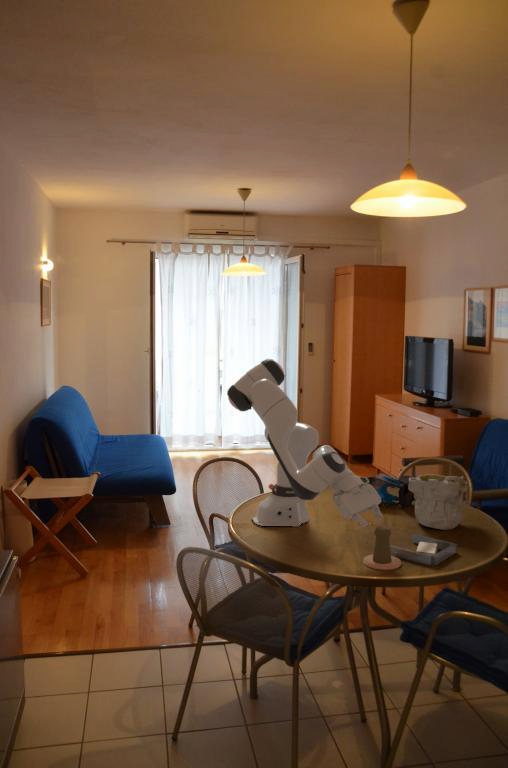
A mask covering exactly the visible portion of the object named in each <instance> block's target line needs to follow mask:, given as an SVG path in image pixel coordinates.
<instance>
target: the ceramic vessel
mask: <svg viewBox="0 0 508 768" xmlns="http://www.w3.org/2000/svg"><path fill="white" fill-rule="evenodd" d="M408 482H409V485H408V489H409V491H411V492H413V493H414V496H416V498H415V501H414V515H415V518H416V520H417V521H418V522H419V524H420V525H422V526H424V527H427V528H432V529H437V530H441V531H449V529H450V530H453V529H455V528H457V526H458V525H459V524H460V523H461V521H462V519H463V505H464V504H466V503H468V502H469V500H468V490H469V486H468V485H469V484H468V482H467V481H466V480H465V477H464V475H462V476H456V475H449V476H448V475H447V476H446V475H443V474H442V475H441V474H434V473H430V474H429V473H428V474H427V473H426V474H421V475H417V476H416V477H415V476H410V477H409V478H408Z"/></svg>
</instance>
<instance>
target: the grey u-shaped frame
mask: <svg viewBox="0 0 508 768" xmlns="http://www.w3.org/2000/svg"><path fill="white" fill-rule="evenodd" d="M411 537H412V539H411V543H412V544H416V545H419V542H427V543H435V544H437V550H440V551H439V552H437V554H435V555H434V556H430V555H426V554H422V553H418V552H416V551H414V550H410V549H406V548H403V547H400V546H399V547H398V546H395V545H390V551H391V556H394V557H397V558H398V559H403V560H407V561H411V562H415V563H419V564H423V565H426V566H428V567H429V566H430V567H433V568H435V567H436V566H438V565H439V564H441V563H442V562H443V561H446V560H447V559H448V557H449V558H450V557H452V556H454V555H455V554H457V553H456V552H457V550H458V543H454V542H450V541H447V540H446V541H445V540H441V539H437V538H433V537H430V536H425V535H420V534H416V533H413V534H412V536H411ZM453 554H454V555H453ZM445 559H446V560H445ZM440 562H441V563H440Z"/></svg>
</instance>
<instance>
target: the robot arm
mask: <svg viewBox="0 0 508 768" xmlns="http://www.w3.org/2000/svg"><path fill="white" fill-rule="evenodd" d="M285 377H286V376H285V372H284V369H283V367H282V366H281V365H280V363H279V362H277V361H275V360H274V359H272V358H266V359H264V360H262V361H260V363H259V364H257V365H255V366H253V367H252V368H251V369H249V370H248V371H246V373H245V374H244V375H242V376H241V377H239V379H237V381H236V382H235V383H234V384H232V385H231V386H230V387H228V389H227V391H226V392H227V393H226V395H227V398H228V401H229V403H230V405H231V406H232V407H234V409H236V410H238V411H239V412H246V411H250V410H252V409H253V410H254V412H255V413H256V414H257V416H258V417H259V418H260V420H261V421H262V422H263V424H264V426H265V428H264V437H265V440H266V441H267V442H268V443H269V446H270V447H271V450H272V452H273V453H274V455H275V458H276V459H277V461H278V463H277V465H276V483H275V484H273V483H269V484H268V488H269V490H271V494H269V495H268V496H267V497H266V498H264V499H263V500H262V501H261V502H259V503H258V506H257V511H256V514H257V516H256V517H254V518H253V520H254V522H256V523H257V524H259V525H262V526H293V527H300V526H299V525H301V524H302V523H303V524H305V523H304V522H306V523H307V522H309V520H310V517H309V514H308V510H307V509H308V508H307V503H306V502H307V501H312V500H314V499H315V498H316V497H317V496H318V495H320V493H321V492H322V491H323V490H324V489H326V488H327V487H328V486H329V485H330V486H331V489H332V490H333V495H332V499H333V501H334V504H335V507H336V508H337V510H338V512H339V513H340V515H341V517H342V518H344V520H349V519H351V518H352V519H353V520H354V521H355V522H357V523H358V524H359V525H360V526H361V527H362V528H365V527H366V526H368V525H369V522H368V521H367V520H366V518H363V517H362V516H361V514H362V513H364V512H367V511H369V510H371V511H372V512H373V513H374V518H375V519H376V521H379V520H381V519H383V517H384V516H383V515H382V513H381V511H380V507H379V505H378V504H380V503H381V497H380V496H379V494H378V493H377V491H376V490H375V489H374V487H373V486H372V485H370V484H368V483H369V480H368V479H367V478H368V477H366V476H359V475H356V474H355V473H354V472H353V471H352V470H351V469H349V467H348V465H347V463H346V461H345V460H344V458H342V456H341V455H340V454H339V453H338V452H337V451H336V450H335V449H334V448H333V446H331V445H329V444H325V445H322V446H320V447H318V445H319V442H320V434H319V432H318V430H317V429H316V428H314V426H311V425H309V424H308V423H304V422H298V415H299V414H298V408H296V406H295V404H294V403H293V401H292V400H291V399H290V397H289V396H288V395H287V394H286V393H285V391H284V390H282V388H280V387H279V386H280V385H282V383H283V382H284V381H285ZM317 447H318V448H317ZM316 448H317V449H316ZM313 451H314V452H313ZM312 452H313V453H312ZM311 453H312V459H311V460H310V461H309V462H307V461H308V459H309V456H310V454H311ZM303 524H302V525H303ZM302 525H301V526H302Z"/></svg>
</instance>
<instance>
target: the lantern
mask: <svg viewBox="0 0 508 768" xmlns="http://www.w3.org/2000/svg"><path fill="white" fill-rule="evenodd" d="M366 478H367V479H368V480H369V483H368V484H370V485H372V486H373V487H374V489H375V490H376V491H377V493H378V494H379V496H380V497H381V503H380V504H378V506H383V508H384V509H385V508H386V506H388V505H389V506H395V505H399V506H400V508H401V509H402V510H405V509H406V508H408V507H410V506H412V505H413V504H412V503H413V502H415V501H416V498H415V494H414V493H413V492H411V491H409V489H408V485H409V481H408V482H404V481H401V480H400V479H397V478H395V477H393V476H391V475H387V474H386V473H382V472H381V473H380V474H377V475H376V474H375V475H372V476H367V477H366ZM401 484H402V485H401ZM388 488H391V489H395V488H399V489H398V492H397V493H398V495H396V494H395V495H394V494H392V493H390V492H389V490H388Z"/></svg>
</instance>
